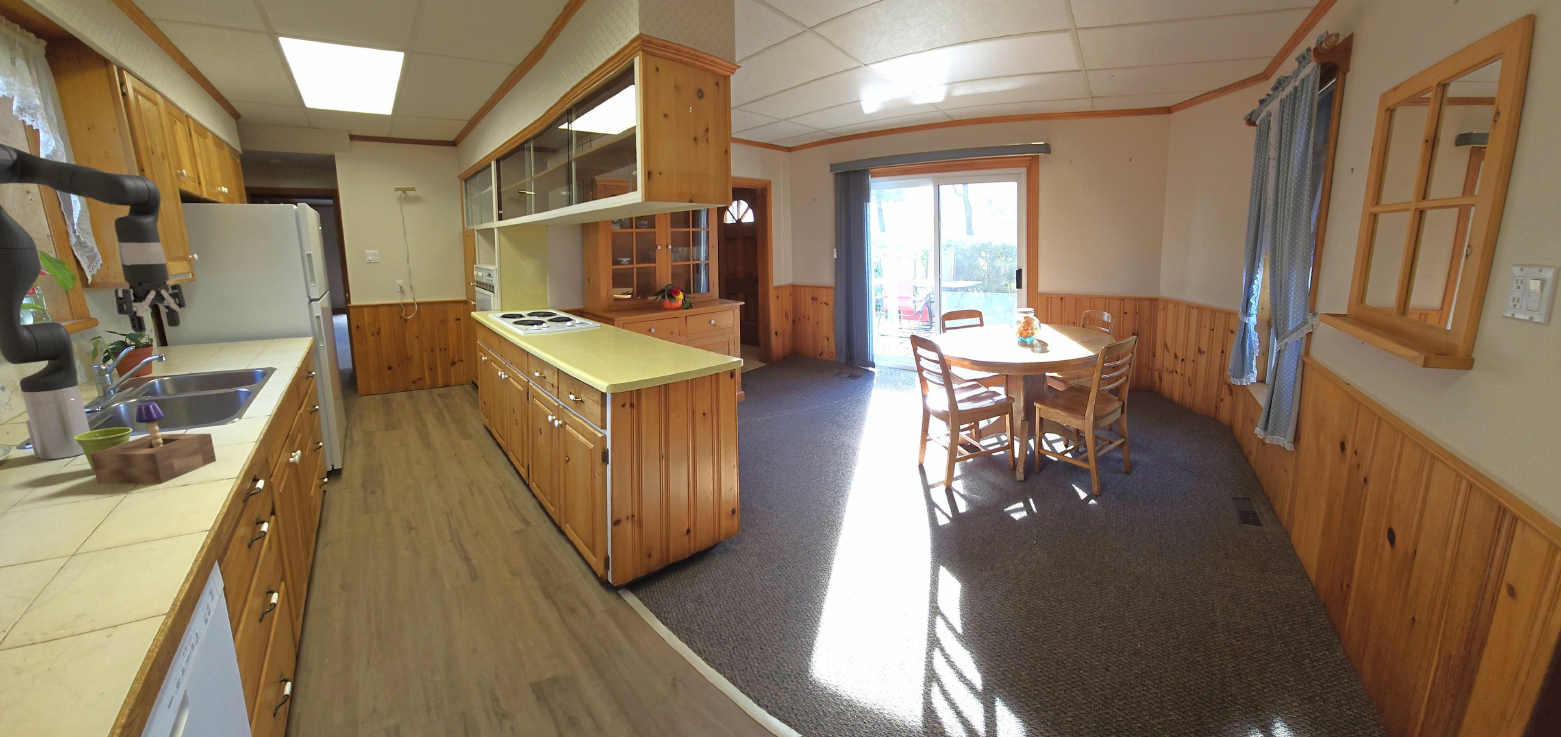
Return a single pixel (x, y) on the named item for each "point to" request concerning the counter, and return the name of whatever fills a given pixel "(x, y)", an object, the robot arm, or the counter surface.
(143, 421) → the toy lamp
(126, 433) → the plant pot
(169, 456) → the socket block
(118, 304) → the robot arm
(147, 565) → the counter surface
